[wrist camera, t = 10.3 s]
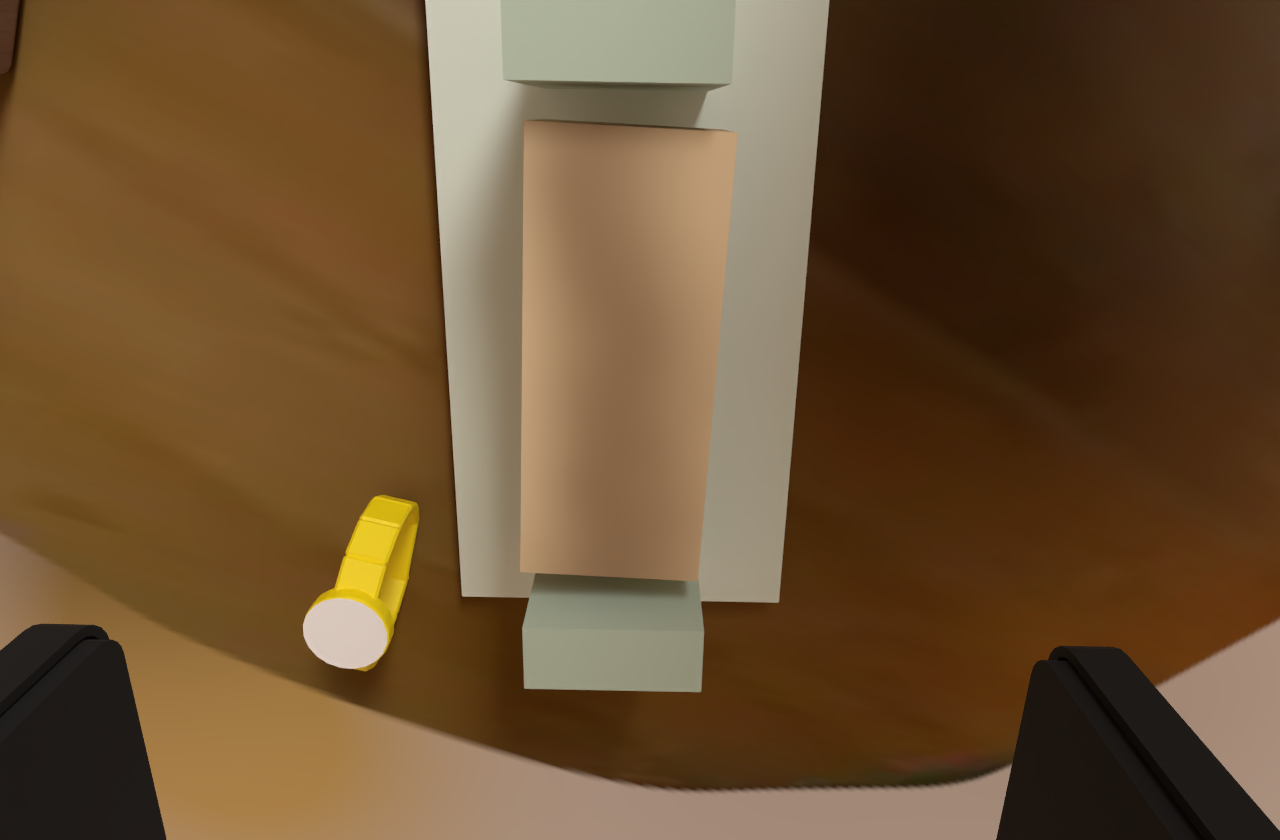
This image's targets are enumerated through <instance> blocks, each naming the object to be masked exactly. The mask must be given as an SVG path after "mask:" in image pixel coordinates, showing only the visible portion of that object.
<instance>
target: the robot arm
mask: <svg viewBox="0 0 1280 840" xmlns="http://www.w3.org/2000/svg"><path fill="white" fill-rule="evenodd" d="M0 840H166V835H165V830H164V826H163V822H162V818H161V814H160V809H159V805H158V800H157V796H156V791H155V787H154V782H153V778H152V774H151V769H150V765H149V761H148V756H147V752H146V747H145V743H144V739H143V734H142V730H141V726H140V721H139V717H138V713H137V708H136V704H135V699H134V695H133V691H132V687H131V682H130V678H129V673H128V670H127V664H126V660H125V656H124V652H123V650H122V647H121V646H120V644H119V643H118V642H116V641H114V640H109V638H108V635H107V633H106V632H105V631H104V630H103V629H102V628H101V627H98V626H95V625H73V624H71V625H70V624H38V625H33V626H31V627H30V628H28V629H26V630H25V631H23V632H22V633H21V634H20V635H18V636H17V637H16V638H15V639H14V640H13V641H11V642H10V643H9V644H8V645H7V646H5V647H4V648H3V649H2V650H1V651H0ZM996 840H1280V831H1279V830H1278V829H1277V828H1276V826H1275V825H1274V824H1273V823H1272V822H1271V821H1270V819H1268V817H1267V816H1266V815H1265V814H1264V813H1263V811H1262V810H1261V809H1260V808H1259V807H1258V806H1257V804H1256V803H1255V802H1254V801H1253V800H1252V799H1251V797H1250V796H1249V795H1248V794H1247V793H1246V792H1245V791H1244V789H1243V788H1242V787H1241V786H1240V785H1239V784H1238V782H1237V781H1236V780H1235V779H1234V778H1233V777H1232V776H1231V775H1230V773H1229V772H1228V771H1227V770H1226V769H1225V767H1224V766H1223V765H1222V764H1221V763H1220V762H1219V761H1218V759H1217V758H1216V757H1215V756H1214V755H1213V754H1212V752H1211V751H1210V750H1209V749H1208V748H1207V747H1206V745H1204V743H1203V742H1202V741H1201V740H1200V739H1199V737H1198V736H1197V735H1196V734H1195V733H1194V732H1193V730H1192V729H1191V728H1190V727H1189V726H1188V725H1187V723H1185V721H1184V720H1183V719H1182V718H1181V717H1180V716H1179V714H1178V713H1177V712H1176V711H1175V710H1174V708H1173V707H1172V706H1171V705H1170V704H1169V703H1168V702H1167V700H1166V699H1165V698H1164V697H1163V696H1162V695H1161V694H1160V692H1159V691H1158V690H1157V689H1156V688H1155V686H1154V685H1153V684H1152V683H1151V682H1150V681H1149V680H1148V678H1147V677H1146V676H1145V675H1144V674H1143V673H1142V671H1141V670H1140V669H1139V668H1138V667H1137V666H1136V664H1135V663H1134V662H1133V661H1132V660H1131V659H1130V658H1129V656H1128V655H1127V654H1125V653H1124V652H1123V651H1122V650H1121V649H1118V648H1114V647H1084V646H1059V647H1057V648H1055V649H1054V650H1053V651H1052V653H1051V654H1050V656H1049V659H1048V660H1040V661H1038V662H1037V663H1036V664H1035V665H1034V667H1033V670H1032V673H1031V678H1030V683H1029V687H1028V692H1027V697H1026V702H1025V706H1024V711H1023V716H1022V721H1021V725H1020V730H1019V735H1018V739H1017V744H1016V749H1015V754H1014V758H1013V763H1012V768H1011V773H1010V778H1009V782H1008V787H1007V791H1006V797H1005V801H1004V806H1003V811H1002V815H1001V820H1000V825H999V829H998V834H997V839H996Z"/></svg>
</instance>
